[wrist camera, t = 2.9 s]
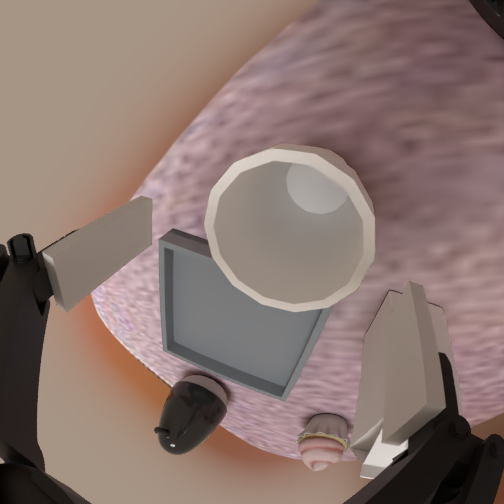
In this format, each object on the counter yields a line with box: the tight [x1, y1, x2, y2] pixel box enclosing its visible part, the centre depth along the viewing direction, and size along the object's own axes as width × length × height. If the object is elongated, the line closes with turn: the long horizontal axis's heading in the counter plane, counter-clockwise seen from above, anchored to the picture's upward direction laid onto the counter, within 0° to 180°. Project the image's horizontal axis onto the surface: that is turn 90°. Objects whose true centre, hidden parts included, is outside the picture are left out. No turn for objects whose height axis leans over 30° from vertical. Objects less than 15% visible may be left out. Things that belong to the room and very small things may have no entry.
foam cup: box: [204, 143, 375, 312], centre depth 21 cm, size 10×9×13 cm
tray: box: [159, 229, 334, 401], centre depth 36 cm, size 20×20×3 cm
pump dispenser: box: [154, 375, 227, 455], centre depth 42 cm, size 10×10×15 cm
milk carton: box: [349, 291, 463, 479], centre depth 21 cm, size 7×7×19 cm
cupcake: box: [295, 414, 350, 471], centre depth 38 cm, size 9×9×10 cm
